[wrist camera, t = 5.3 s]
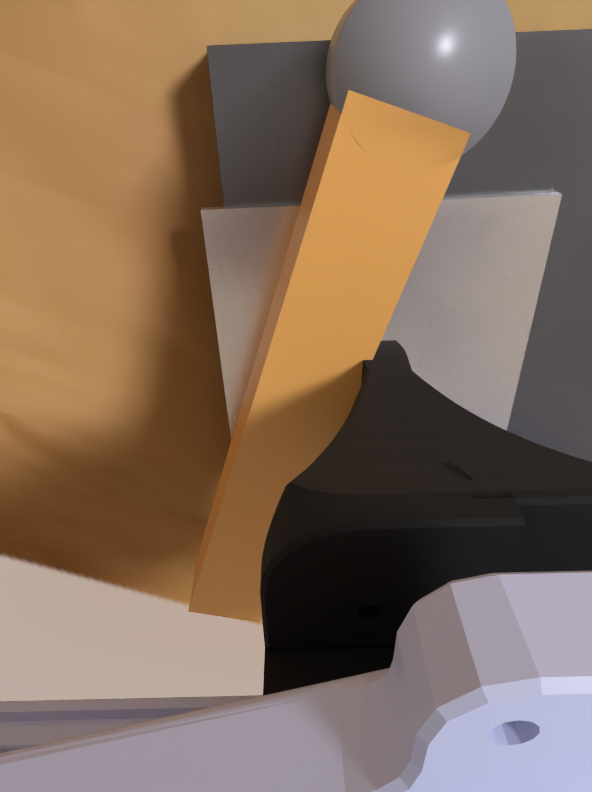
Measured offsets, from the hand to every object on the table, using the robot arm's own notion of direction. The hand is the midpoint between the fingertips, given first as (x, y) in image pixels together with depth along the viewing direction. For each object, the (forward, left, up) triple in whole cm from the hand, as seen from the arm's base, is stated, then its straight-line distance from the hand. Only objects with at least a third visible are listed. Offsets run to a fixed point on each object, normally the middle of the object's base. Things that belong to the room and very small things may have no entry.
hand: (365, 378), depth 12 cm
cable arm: (0, +1, -1) cm, 2 cm away
